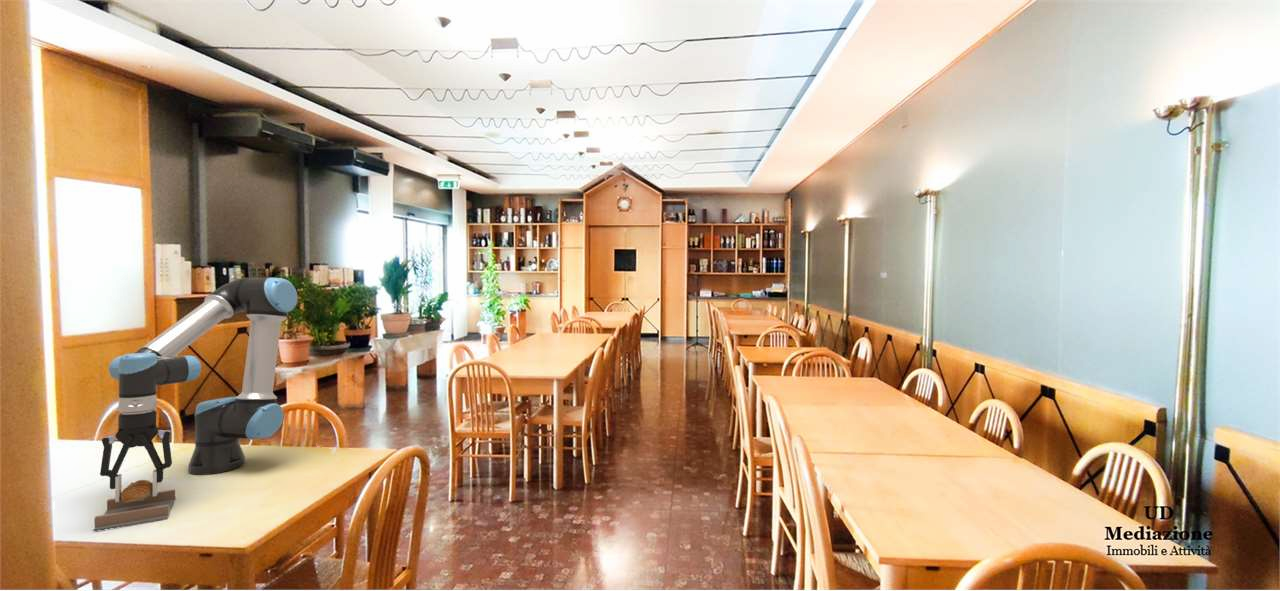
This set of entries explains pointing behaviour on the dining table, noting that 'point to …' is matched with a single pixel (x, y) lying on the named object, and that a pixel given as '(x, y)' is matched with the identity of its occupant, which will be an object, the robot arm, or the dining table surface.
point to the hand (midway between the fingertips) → (136, 497)
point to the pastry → (137, 491)
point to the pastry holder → (136, 511)
